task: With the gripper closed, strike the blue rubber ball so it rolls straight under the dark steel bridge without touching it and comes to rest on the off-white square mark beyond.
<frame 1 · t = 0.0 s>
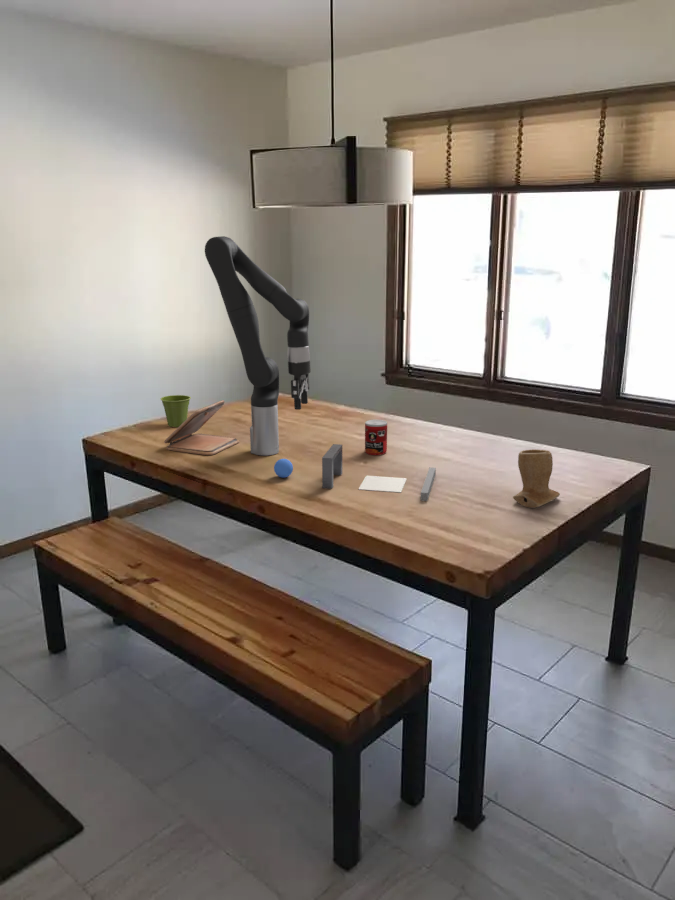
hand: (301, 406, 260), 17 cm above the table, tool pointing down, fingers open, 8 cm apart
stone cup: (533, 501, 220), on the table
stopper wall: (428, 487, 231), on the table
canned food: (375, 452, 267), on the table
case: (202, 446, 275), on the table
ball: (283, 468, 240), on the table
bridge: (332, 480, 238), on the table
plant pot: (177, 425, 303), on the table
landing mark: (383, 484, 234), on the table
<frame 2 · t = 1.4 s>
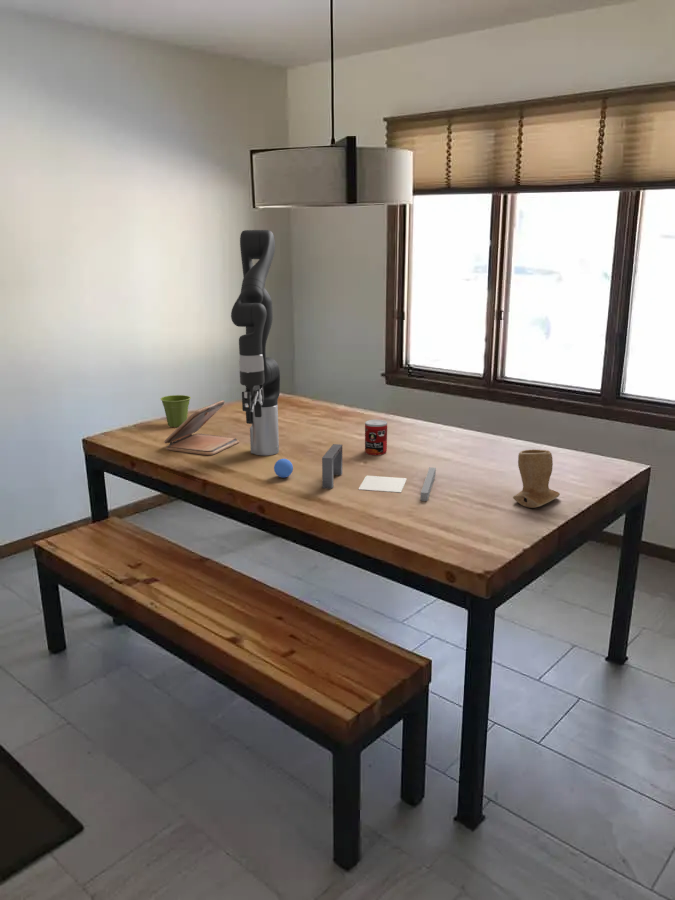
hand: (254, 420, 238), 18 cm above the table, tool pointing down, fingers open, 8 cm apart
nothing on the table moved.
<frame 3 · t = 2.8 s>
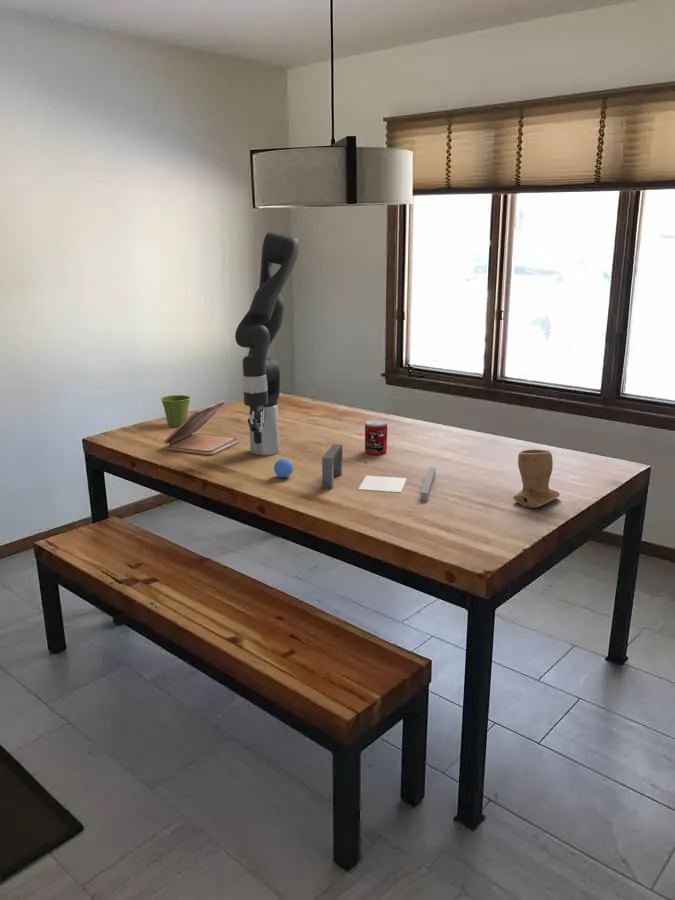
hand: (258, 443, 240), 11 cm above the table, tool pointing down, fingers closed
nothing on the table moved.
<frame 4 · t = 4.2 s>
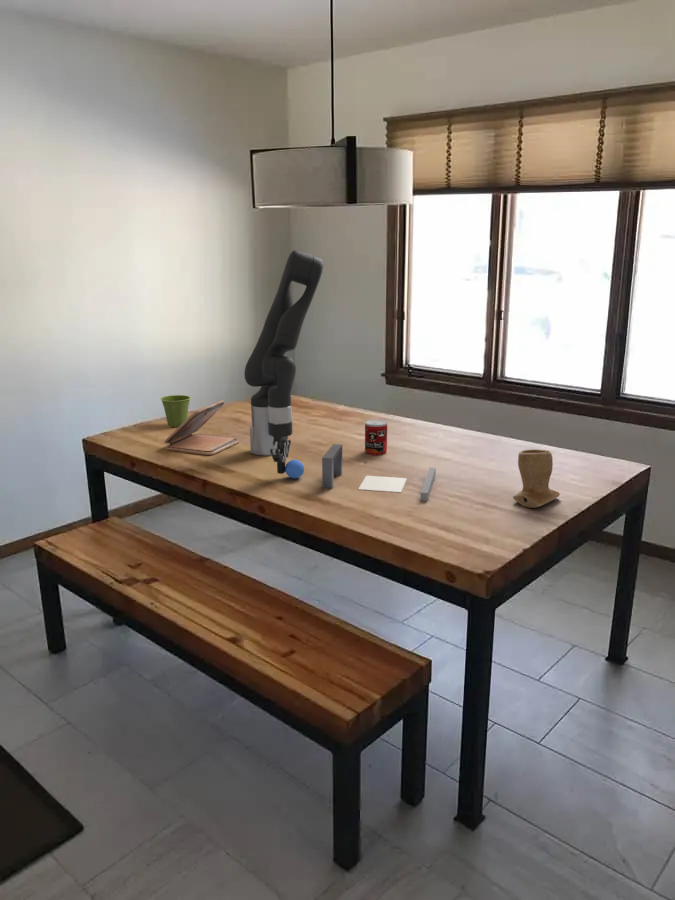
hand: (281, 472, 239), 2 cm above the table, tool pointing down, fingers closed
ball: (294, 469, 239), on the table
everything else where it was.
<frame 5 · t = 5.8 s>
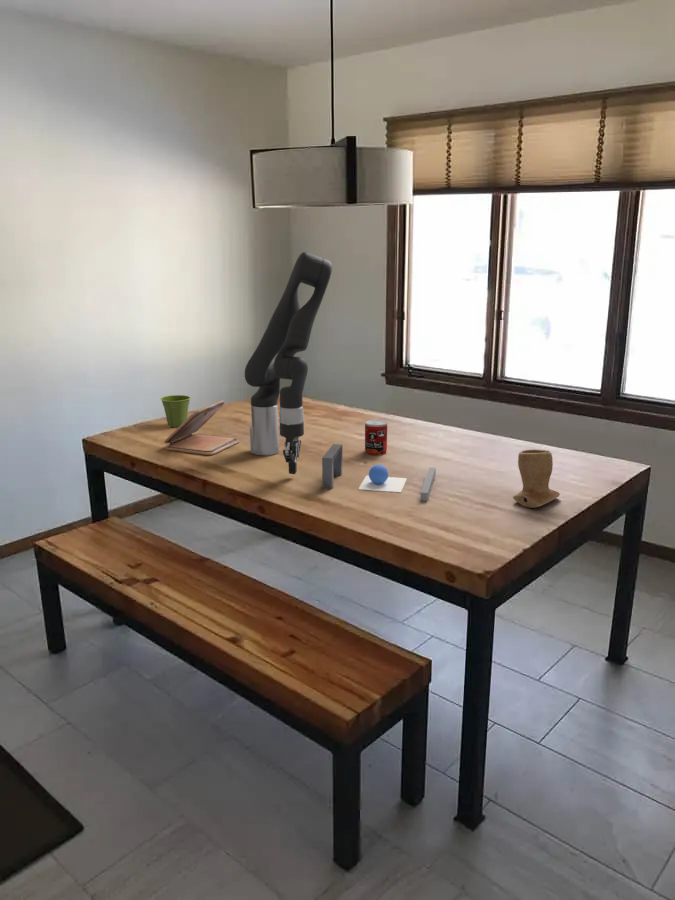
hand: (292, 473, 240), 2 cm above the table, tool pointing down, fingers closed
ball: (378, 474, 234), on the table
everything else where it was.
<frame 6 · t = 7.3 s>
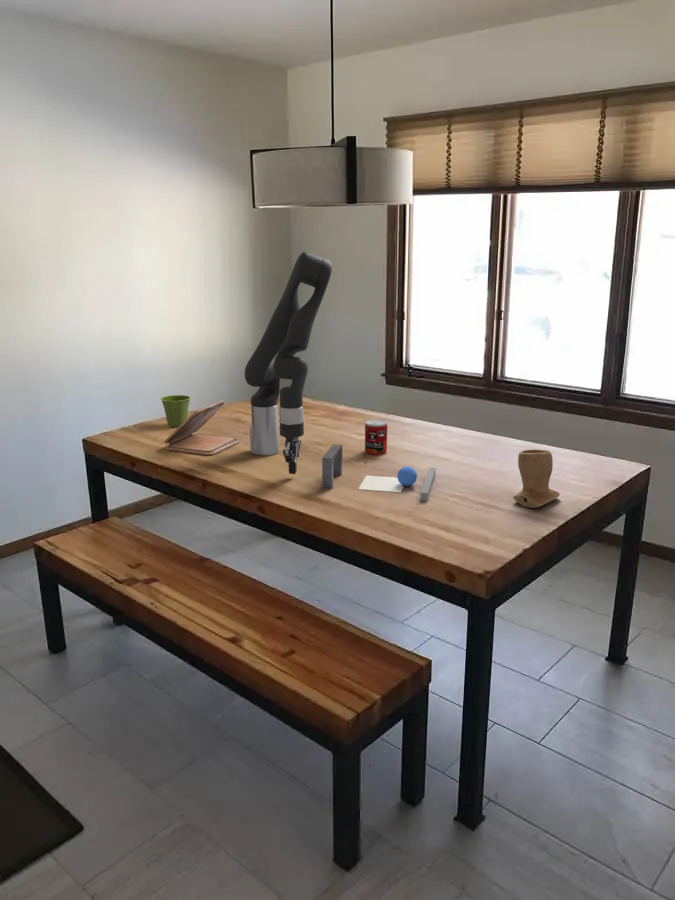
hand: (292, 473, 240), 2 cm above the table, tool pointing down, fingers closed
ball: (407, 476, 232), on the table
everything else where it was.
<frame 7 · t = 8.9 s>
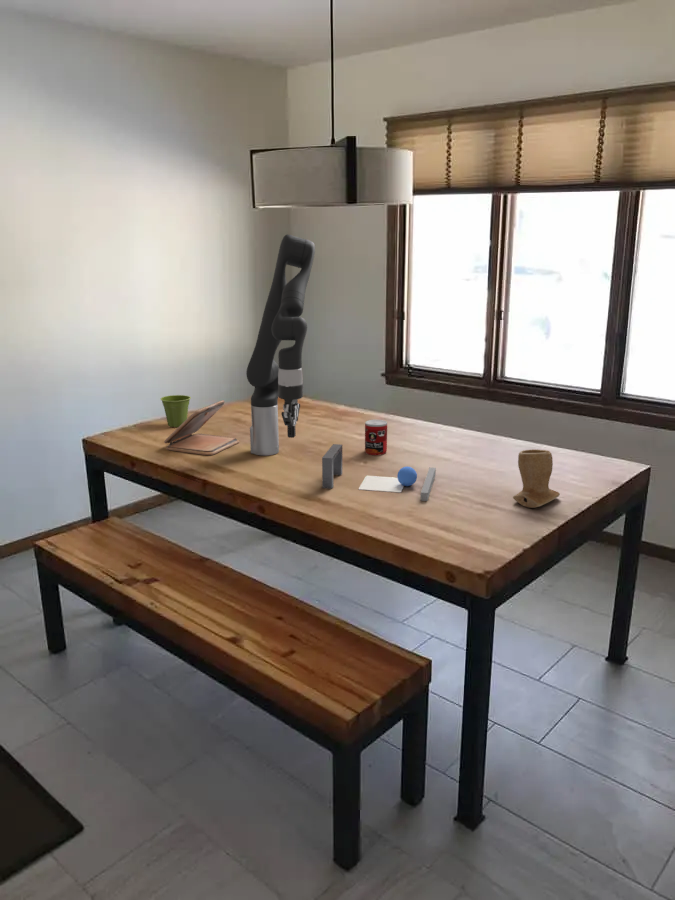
hand: (291, 437, 236), 13 cm above the table, tool pointing down, fingers closed
nothing on the table moved.
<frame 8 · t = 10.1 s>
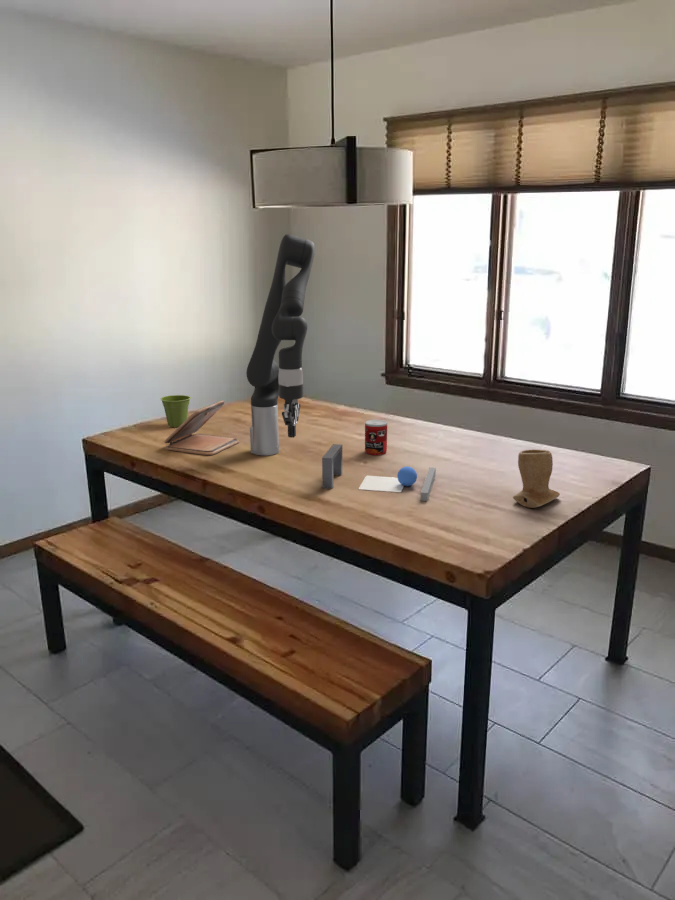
hand: (291, 436, 236), 14 cm above the table, tool pointing down, fingers closed
nothing on the table moved.
at the end: ball 7.4 cm from the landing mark (horizontally); ball never touched bridge; ball at rest at the end (0.0 cm/s) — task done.
